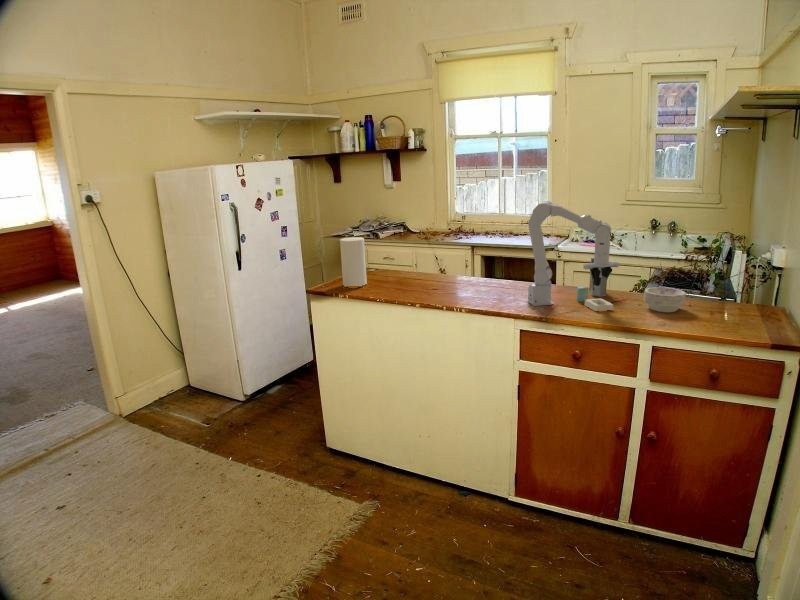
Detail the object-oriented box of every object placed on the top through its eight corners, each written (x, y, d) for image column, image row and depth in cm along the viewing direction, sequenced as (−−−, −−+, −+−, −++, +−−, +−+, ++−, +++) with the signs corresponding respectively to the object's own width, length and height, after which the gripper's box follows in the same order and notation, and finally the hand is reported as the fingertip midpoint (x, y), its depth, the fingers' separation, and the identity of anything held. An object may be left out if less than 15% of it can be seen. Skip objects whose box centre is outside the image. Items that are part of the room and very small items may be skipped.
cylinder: (368, 287, 273) (365, 239, 266) (344, 289, 270) (341, 241, 263) (364, 282, 284) (361, 236, 278) (341, 284, 282) (338, 238, 275)
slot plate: (595, 311, 217) (596, 305, 216) (584, 305, 226) (584, 299, 226) (612, 310, 218) (613, 304, 217) (600, 303, 227) (601, 298, 226)
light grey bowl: (677, 304, 222) (679, 286, 220) (689, 315, 207) (691, 296, 205) (639, 304, 225) (640, 286, 223) (647, 314, 211) (649, 295, 208)
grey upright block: (579, 302, 231) (580, 289, 229) (574, 299, 235) (575, 286, 234) (589, 301, 231) (589, 288, 230) (584, 299, 236) (585, 286, 234)
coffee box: (606, 296, 238) (608, 261, 234) (591, 296, 240) (593, 261, 235) (603, 291, 247) (605, 257, 243) (588, 291, 248) (590, 257, 244)
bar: (599, 296, 218) (601, 277, 215) (593, 293, 222) (595, 275, 220) (605, 296, 218) (606, 277, 216) (599, 292, 223) (600, 274, 220)
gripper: (589, 255, 211) (587, 288, 215) (623, 253, 213) (621, 286, 216) (581, 252, 218) (580, 284, 221) (614, 250, 219) (612, 282, 223)
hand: (599, 285), depth 219 cm, fingers closed on bar, 2 cm apart
